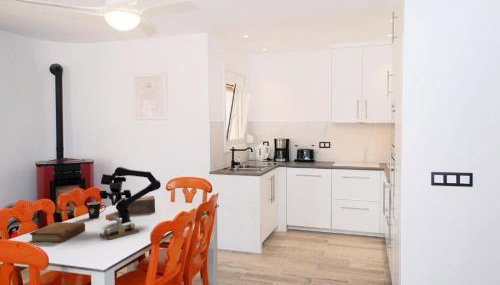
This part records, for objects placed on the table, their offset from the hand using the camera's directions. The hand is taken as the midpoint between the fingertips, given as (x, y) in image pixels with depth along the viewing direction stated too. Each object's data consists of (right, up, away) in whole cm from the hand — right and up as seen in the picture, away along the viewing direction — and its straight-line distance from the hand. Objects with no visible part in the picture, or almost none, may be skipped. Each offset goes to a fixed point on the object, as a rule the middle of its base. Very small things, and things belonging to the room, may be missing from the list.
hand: (113, 205), depth 232 cm
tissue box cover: (+2, -12, +43) cm, 45 cm away
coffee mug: (-22, -13, +26) cm, 37 cm away
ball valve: (+10, -14, -16) cm, 23 cm away
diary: (-25, -15, -18) cm, 34 cm away
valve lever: (+5, -7, -12) cm, 15 cm away
